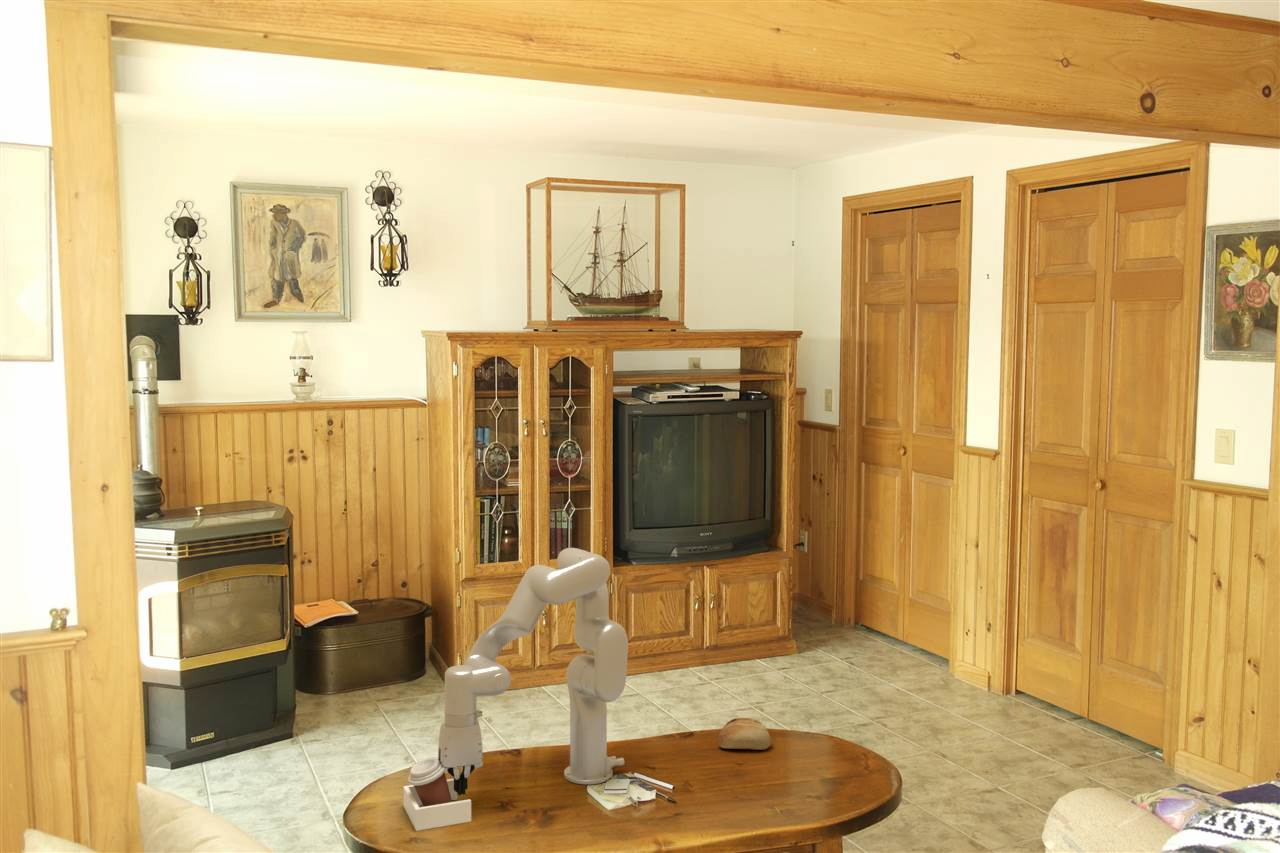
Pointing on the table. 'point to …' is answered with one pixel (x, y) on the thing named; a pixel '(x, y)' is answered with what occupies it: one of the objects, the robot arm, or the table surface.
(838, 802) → the table surface
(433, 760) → the coffee cup
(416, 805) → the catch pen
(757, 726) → the bread roll
